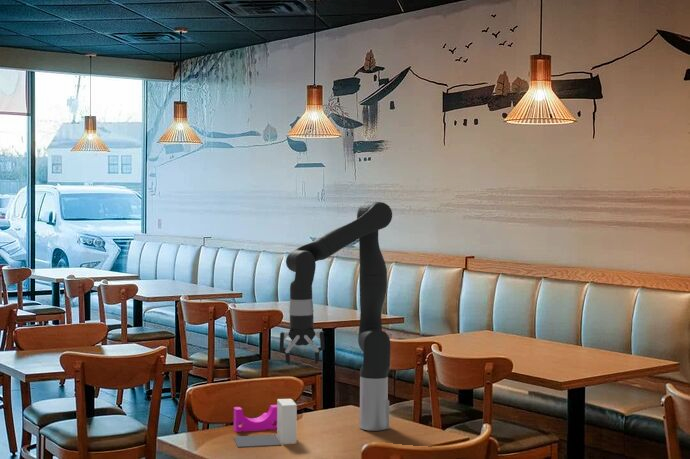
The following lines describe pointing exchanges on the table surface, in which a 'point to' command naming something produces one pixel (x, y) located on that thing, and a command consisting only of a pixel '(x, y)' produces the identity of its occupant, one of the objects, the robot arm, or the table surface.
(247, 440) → the mat
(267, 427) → the toy block
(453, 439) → the table surface
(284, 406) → the white rectangular block
